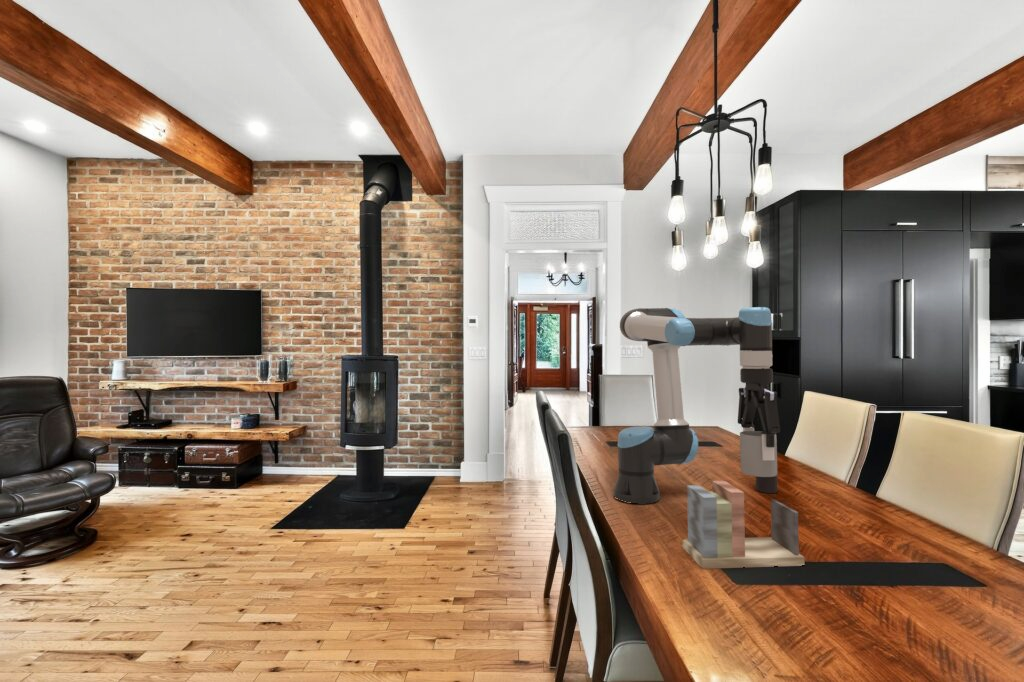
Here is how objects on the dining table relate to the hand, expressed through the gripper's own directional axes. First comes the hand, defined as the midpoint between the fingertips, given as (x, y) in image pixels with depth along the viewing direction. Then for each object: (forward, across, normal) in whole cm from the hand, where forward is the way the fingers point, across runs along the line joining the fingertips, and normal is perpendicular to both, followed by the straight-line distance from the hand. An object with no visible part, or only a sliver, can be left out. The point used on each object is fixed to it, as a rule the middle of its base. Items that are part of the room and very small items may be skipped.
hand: (758, 456), depth 127 cm
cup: (+4, 0, 0) cm, 4 cm away
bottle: (+22, +45, -28) cm, 57 cm away
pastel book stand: (+23, -6, +8) cm, 25 cm away
